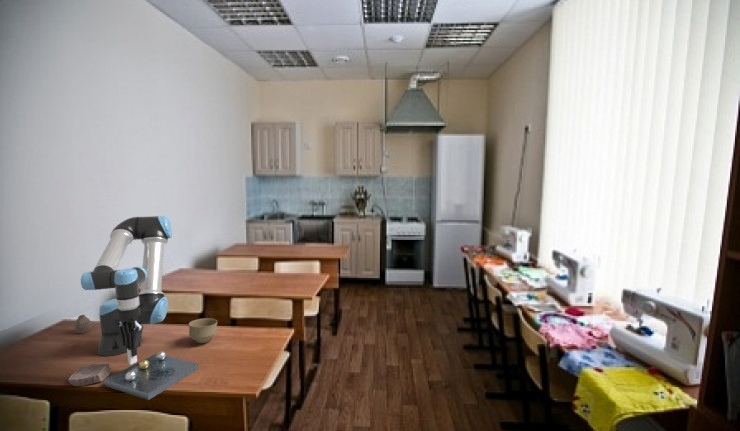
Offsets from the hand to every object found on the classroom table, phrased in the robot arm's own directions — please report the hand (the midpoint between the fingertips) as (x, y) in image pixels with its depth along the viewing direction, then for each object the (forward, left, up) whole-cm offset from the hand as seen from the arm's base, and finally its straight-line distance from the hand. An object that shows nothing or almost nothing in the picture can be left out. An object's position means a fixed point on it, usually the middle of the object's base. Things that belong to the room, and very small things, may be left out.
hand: (132, 362), depth 145 cm
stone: (-10, -10, -4) cm, 15 cm away
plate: (+12, 0, -4) cm, 12 cm away
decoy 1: (+7, +8, 0) cm, 10 cm away
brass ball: (+7, 0, 0) cm, 7 cm away
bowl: (+6, +31, -4) cm, 32 cm away
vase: (-61, +16, -4) cm, 64 cm away
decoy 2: (+10, -7, 0) cm, 12 cm away
